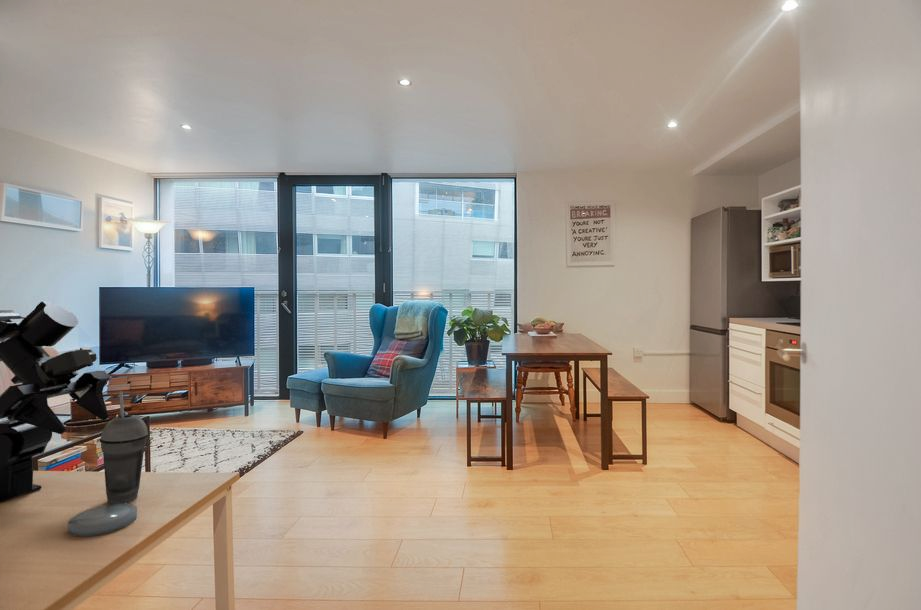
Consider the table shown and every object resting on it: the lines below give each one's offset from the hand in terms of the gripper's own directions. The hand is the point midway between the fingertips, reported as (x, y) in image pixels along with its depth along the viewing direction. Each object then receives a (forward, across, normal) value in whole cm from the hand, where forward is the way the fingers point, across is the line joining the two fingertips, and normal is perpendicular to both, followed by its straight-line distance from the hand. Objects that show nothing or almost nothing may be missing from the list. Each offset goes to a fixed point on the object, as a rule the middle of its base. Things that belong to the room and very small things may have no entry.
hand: (86, 425), depth 84 cm
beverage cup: (+15, 0, +4) cm, 16 cm away
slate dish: (+17, -8, +2) cm, 19 cm away
